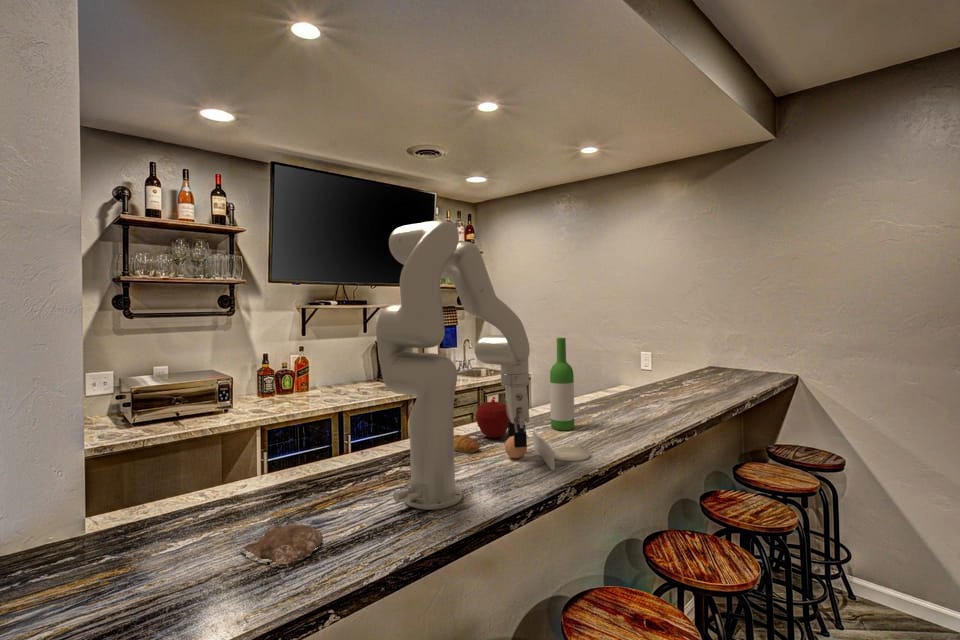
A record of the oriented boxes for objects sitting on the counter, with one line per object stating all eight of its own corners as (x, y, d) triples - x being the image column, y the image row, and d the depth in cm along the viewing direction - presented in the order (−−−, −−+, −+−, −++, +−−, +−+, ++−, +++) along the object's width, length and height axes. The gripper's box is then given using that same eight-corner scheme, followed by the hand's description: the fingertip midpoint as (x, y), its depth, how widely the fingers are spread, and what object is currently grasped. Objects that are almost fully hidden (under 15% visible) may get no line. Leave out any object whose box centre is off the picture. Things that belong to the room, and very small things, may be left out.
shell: (292, 529, 96) (292, 510, 96) (337, 545, 89) (336, 525, 89) (235, 555, 86) (234, 534, 86) (280, 575, 79) (279, 553, 79)
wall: (554, 470, 124) (554, 452, 124) (551, 470, 124) (551, 452, 124) (535, 444, 146) (535, 429, 146) (533, 445, 146) (532, 429, 146)
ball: (518, 463, 130) (517, 440, 130) (500, 458, 134) (500, 436, 134) (531, 457, 135) (531, 435, 134) (514, 453, 139) (513, 432, 138)
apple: (470, 439, 153) (469, 402, 153) (487, 431, 163) (486, 395, 162) (502, 443, 148) (501, 405, 148) (517, 435, 157) (516, 398, 157)
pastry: (485, 450, 143) (484, 437, 142) (468, 456, 138) (468, 442, 138) (462, 444, 149) (462, 431, 149) (445, 449, 144) (445, 437, 144)
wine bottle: (578, 427, 166) (576, 337, 164) (569, 432, 159) (567, 339, 158) (556, 424, 170) (554, 336, 169) (546, 429, 163) (545, 338, 162)
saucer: (576, 464, 128) (576, 462, 128) (541, 456, 136) (541, 454, 135) (597, 454, 136) (597, 451, 136) (563, 446, 144) (563, 444, 144)
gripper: (535, 384, 126) (537, 450, 127) (522, 372, 143) (524, 431, 144) (506, 385, 125) (508, 452, 126) (496, 374, 142) (499, 433, 143)
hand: (517, 441), depth 135 cm, fingers open, 9 cm apart
